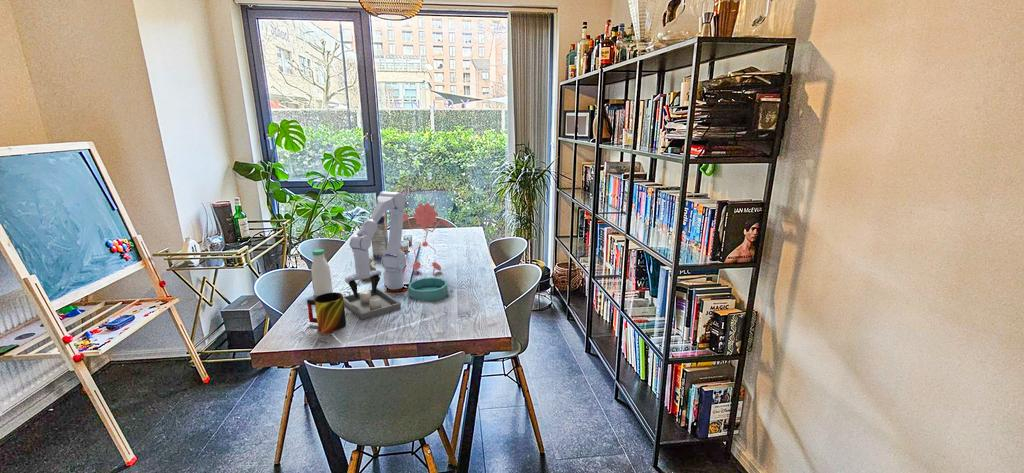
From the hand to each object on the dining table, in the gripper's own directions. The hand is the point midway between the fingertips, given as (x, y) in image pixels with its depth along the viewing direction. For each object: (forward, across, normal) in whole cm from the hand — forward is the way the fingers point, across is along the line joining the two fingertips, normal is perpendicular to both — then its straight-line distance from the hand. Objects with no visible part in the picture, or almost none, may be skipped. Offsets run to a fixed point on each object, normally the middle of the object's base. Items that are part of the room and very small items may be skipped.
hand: (365, 295), depth 182 cm
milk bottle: (+4, -10, +23) cm, 25 cm away
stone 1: (+3, 0, 0) cm, 3 cm away
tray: (+4, 0, -5) cm, 6 cm away
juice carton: (+4, +33, +60) cm, 69 cm away
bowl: (+4, +25, -8) cm, 27 cm away
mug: (+4, -20, -13) cm, 24 cm away
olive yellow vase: (+4, +13, +29) cm, 32 cm away
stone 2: (+3, 0, -10) cm, 10 cm away
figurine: (+4, +41, +20) cm, 46 cm away
